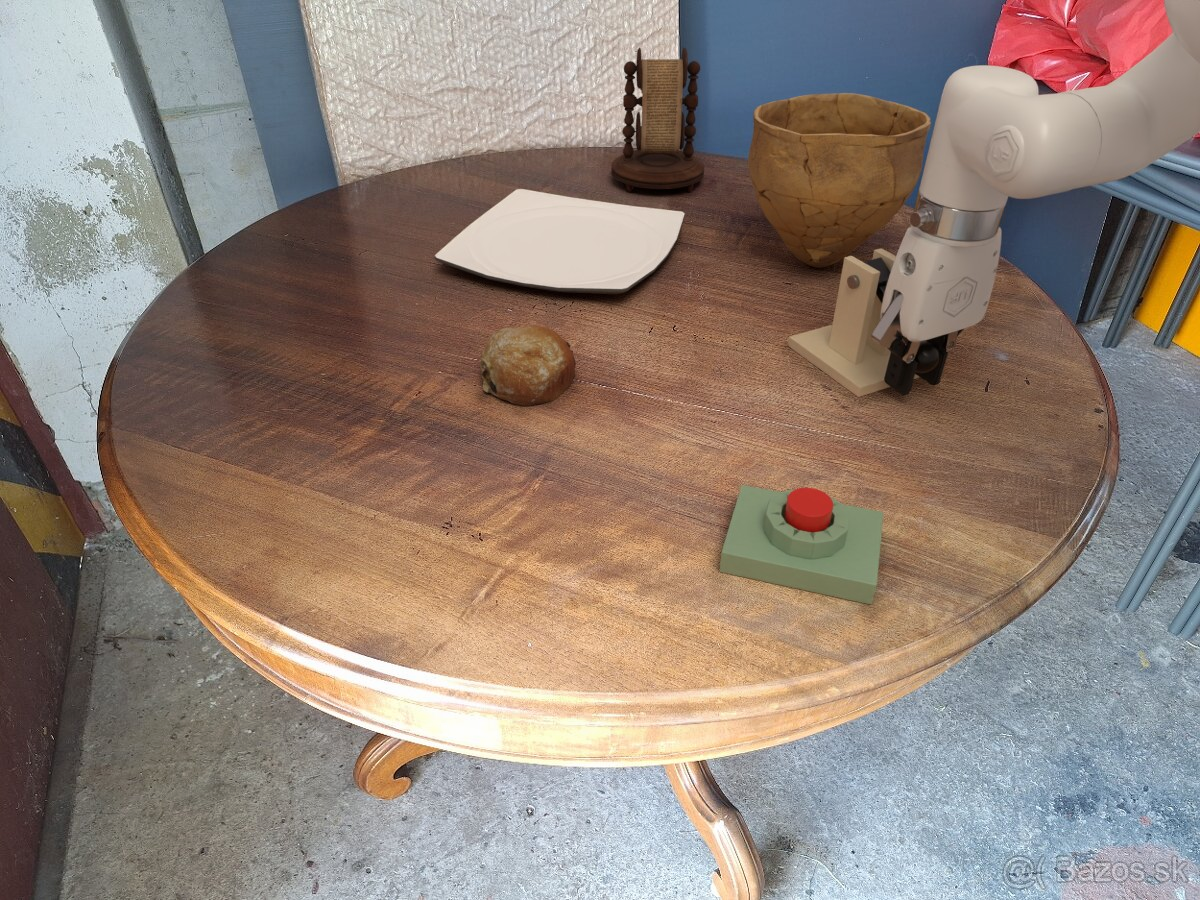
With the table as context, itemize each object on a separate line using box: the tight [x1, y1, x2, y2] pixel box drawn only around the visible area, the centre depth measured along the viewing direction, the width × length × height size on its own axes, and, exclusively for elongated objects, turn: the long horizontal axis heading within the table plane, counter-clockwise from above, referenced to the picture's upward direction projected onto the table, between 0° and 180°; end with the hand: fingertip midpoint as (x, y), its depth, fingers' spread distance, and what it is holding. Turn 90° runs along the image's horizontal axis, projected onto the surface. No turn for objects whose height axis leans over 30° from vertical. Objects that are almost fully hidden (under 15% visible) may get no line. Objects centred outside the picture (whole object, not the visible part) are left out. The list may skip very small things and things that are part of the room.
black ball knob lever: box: [863, 257, 940, 373], centre depth 91 cm, size 13×3×3 cm, turn 28°
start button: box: [785, 487, 833, 533], centre depth 71 cm, size 4×4×2 cm
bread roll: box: [479, 325, 577, 407], centre depth 94 cm, size 10×10×8 cm
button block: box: [718, 484, 885, 606], centre depth 73 cm, size 12×9×4 cm
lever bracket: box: [787, 247, 920, 398], centre depth 95 cm, size 12×10×12 cm
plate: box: [434, 188, 686, 295], centre depth 121 cm, size 29×29×3 cm
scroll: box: [610, 46, 705, 193], centre depth 137 cm, size 15×15×20 cm
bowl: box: [747, 92, 932, 269], centre depth 112 cm, size 21×20×20 cm
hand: (911, 382), depth 92 cm, fingers closed on black ball knob lever, 3 cm apart
